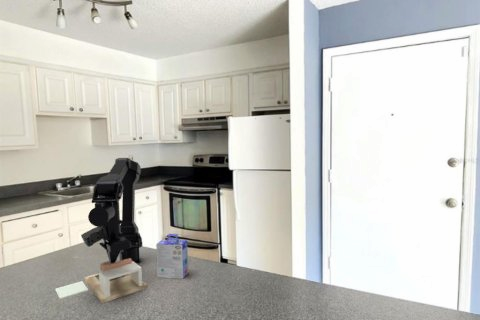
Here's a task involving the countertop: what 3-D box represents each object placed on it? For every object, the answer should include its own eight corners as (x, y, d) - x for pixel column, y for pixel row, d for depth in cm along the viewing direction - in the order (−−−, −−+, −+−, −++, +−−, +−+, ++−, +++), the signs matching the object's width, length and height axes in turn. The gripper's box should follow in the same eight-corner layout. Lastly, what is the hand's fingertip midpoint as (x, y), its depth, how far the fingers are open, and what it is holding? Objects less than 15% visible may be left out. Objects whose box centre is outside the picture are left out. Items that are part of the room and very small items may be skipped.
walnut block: (114, 274, 110) (113, 259, 110) (118, 278, 107) (118, 263, 106) (101, 278, 107) (100, 263, 107) (105, 283, 104) (104, 267, 103)
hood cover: (133, 278, 105) (132, 257, 104) (142, 285, 99) (141, 263, 99) (99, 289, 97) (98, 266, 97) (106, 297, 92) (105, 273, 92)
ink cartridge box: (189, 272, 111) (187, 233, 110) (183, 279, 106) (182, 238, 105) (163, 271, 113) (161, 232, 112) (156, 277, 107) (155, 237, 106)
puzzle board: (124, 269, 115) (124, 265, 115) (147, 288, 100) (147, 284, 100) (84, 280, 106) (84, 277, 106) (102, 303, 91) (101, 299, 91)
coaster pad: (82, 282, 105) (81, 281, 105) (88, 291, 99) (88, 289, 99) (55, 290, 100) (54, 288, 100) (60, 300, 94) (59, 298, 94)
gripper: (75, 216, 101) (78, 263, 102) (91, 229, 87) (94, 282, 88) (110, 211, 108) (112, 254, 109) (130, 221, 94) (132, 271, 95)
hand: (112, 264), depth 100 cm, fingers closed
